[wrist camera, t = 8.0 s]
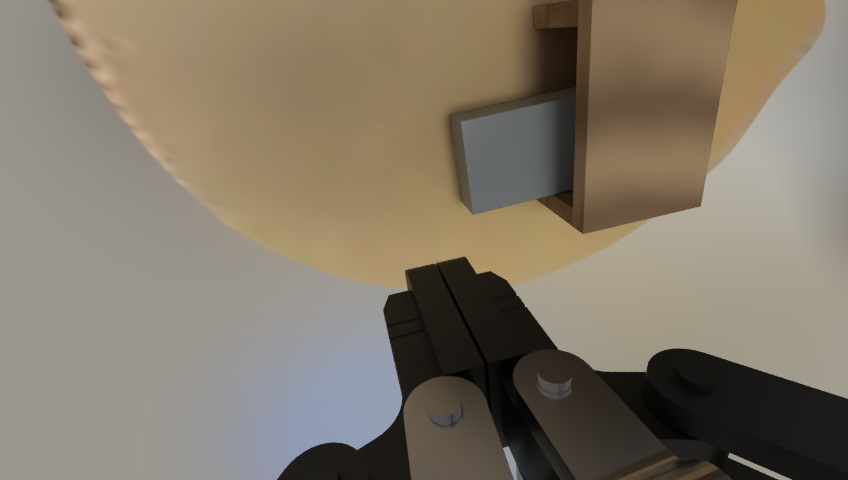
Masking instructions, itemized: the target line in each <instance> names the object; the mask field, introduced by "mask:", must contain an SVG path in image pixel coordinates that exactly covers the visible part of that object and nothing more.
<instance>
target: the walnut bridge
mask: <svg viewBox="0 0 848 480" xmlns="http://www.w3.org/2000/svg"><path fill="white" fill-rule="evenodd" d="M736 5H737V0H570V1H564V2H558V3H552V4H545V5H539V6H533V29H541V28H559V27H577V26H578V42H577V78H576V115H575V152H574V189H573V190H569V191H565V192H561V193H557V194H553V195H550V196H546V197H542V198H538V199H536V200H538V201H539V202H540V203H542V204H543V205H545V206H546V207H547V208H549V209H550V210H551V211H553V212H554V213H555V214H557V215H558V216H559V217H561V218H562V219H563V220H565V221H566V222H568V223H569V224H570V225H572V226H573V227H574V228H576V229H577V230H578V231H580V232H581V233H582V234H585V233H590V232H594V231H598V230H602V229H607V228H611V227H615V226H619V225H623V224H628V223H632V222H636V221H640V220H645V219H649V218H653V217H657V216H661V215H666V214H670V213H674V212H678V211H683V210H687V209H691V208H695V207H700V206H701V201H702V196H703V189H704V184H705V179H706V173H707V168H708V162H709V156H710V151H711V145H712V140H713V134H714V128H715V123H716V117H717V112H718V106H719V100H720V95H721V89H722V84H723V78H724V72H725V67H726V61H727V56H728V50H729V44H730V39H731V33H732V28H733V22H734V16H735V11H736Z"/></svg>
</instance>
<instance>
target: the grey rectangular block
mask: <svg viewBox="0 0 848 480" xmlns="http://www.w3.org/2000/svg"><path fill="white" fill-rule="evenodd" d="M575 115H576V87H572V88H568V89H563V90H559V91H554V92H550V93H545V94H541V95H536V96H532V97H527V98H523V99H518V100H514V101H510V102H505V103H501V104H496V105H492V106H487V107H483V108H478V109H474V110H469V111H465V112H460V113H456V114H451V115H450V122H451V129H452V136H453V144H454V151H455V158H456V165H457V172H458V179H459V186H460V193H461V201H462V202H463V204H464V205H465V206H466V207H467V208H468V209H469V211H470V212H471V213H472V214H473V215H474V214H478V213H482V212H486V211H490V210H494V209H498V208H502V207H506V206H510V205H514V204H518V203H522V202H526V201H530V200H534V199H538V198H542V197H546V196H550V195H553V194H557V193H561V192H565V191H569V190H573V189H574V152H575Z"/></svg>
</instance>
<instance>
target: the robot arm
mask: <svg viewBox="0 0 848 480" xmlns="http://www.w3.org/2000/svg"><path fill="white" fill-rule="evenodd" d="M405 275H406V281H407V287H408V291H405V292H401V293H396V294H392V295H389V296H388V299H387V302H386V304H385V307H384V310H383V311H384V316H385V321H386V325H387V330H388V335H389V339H390V344H391V348H392V353H393V358H394V362H395V366H396V371H397V375H398V380H399V384H400V389H401V393H402V405H401V409H400V412H399V414H398V416H397V418H396V419H395V421H394V423H393V424H392V425H391V426H390V427H389V428H388V429H387V430H386V431H385V432H384V433H383V434H382V435H380V436H379V437H377V438H376V439H374V440H373V441H371V442H370V443H368V444H366V445H365V446H363V447H362V448H360V449H358V450H356V449H355V448H353V447H351V446H349V445H347V444H343V443H326V444H321V445H318V446H315V447H313V448H310V449H308V450H307V451H305V452H303V453H302V454H300V455H299V456H298V457H296V458H295V459H294V460H293V461H292V462H291V463H290V464H289V465H288V466H287V468H286V469H285V470H284V471H283V472H282V474H281V475H280V476H279V478H278V479H277V480H514V479H513V476H512V473H511V470H510V467H509V464H508V461H507V459H506V456H505V453H504V450H503V448H504V447H507V446H509V448H510V450H511V453H512V455H513V457H514V459H515V461H516V469H517V470H516V472H517V480H778V479H775V478H773V477H771V476H769V475H766V474H764V473H762V472H759V471H757V470H755V469H753V468H750V467H748V466H746V465H743V464H741V463H739V462H736V461H734V460H732V459H730V458H728V455H729V453H732V454H734V455H737V456H739V457H741V458H743V459H746V460H748V461H750V462H753V463H755V464H757V465H760V466H762V467H764V468H767V469H769V470H771V471H774V472H776V473H778V474H780V475H783V476H785V477H788V478H790V479H792V480H848V399H846V398H843V397H840V396H837V395H834V394H831V393H827V392H824V391H821V390H818V389H815V388H812V387H809V386H806V385H803V384H800V383H796V382H793V381H790V380H787V379H784V378H781V377H778V376H774V375H772V374H768V373H765V372H762V371H759V370H756V369H753V368H750V367H747V366H744V365H740V364H737V363H734V362H731V361H728V360H725V359H722V358H719V357H715V356H712V355H709V354H706V353H703V352H699V351H695V350H690V349H669V350H664V351H661V352H659V353H657V354H656V355H654V356H653V357H652V358H651V359H650V361H649V362H648V366H647V371H646V372H603V371H596V370H593V369H592V368H591V367H590V366H589V365H588V364H587V363H586V362H585V361H584V360H582V359H581V358H579V357H578V356H576V355H574V354H571V353H569V352H565V351H561V350H558V349H557V347H556V346H555V345H554V343H553V342H552V341H551V339H550V338H549V337H548V335H547V334H546V333H545V331H544V330H543V329H542V327H541V326H540V325H539V323H538V322H537V320H536V319H535V318H534V317H533V315H532V314H531V312H530V311H529V310H528V309H527V307H525V305H524V303H523V302H522V301H521V299H520V298H519V296H517V295H516V292H515V291H514V290H513V288H512V287H511V286H510V284H509V283H508V282H507V280H505V279H503V278H501V277H500V276H498V275H496V274H494V273H492V272H491V271H489V272H485V273H481V274H476V272H475V271H474V269H473V268H472V266H471V264H470V263H469V261H468V260H467V258H466V257H461V258H456V259H452V260H447V261H443V262H439V263H436V265H435V264H430V265H426V266H422V267H417V268H413V269H408V270H405Z"/></svg>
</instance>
